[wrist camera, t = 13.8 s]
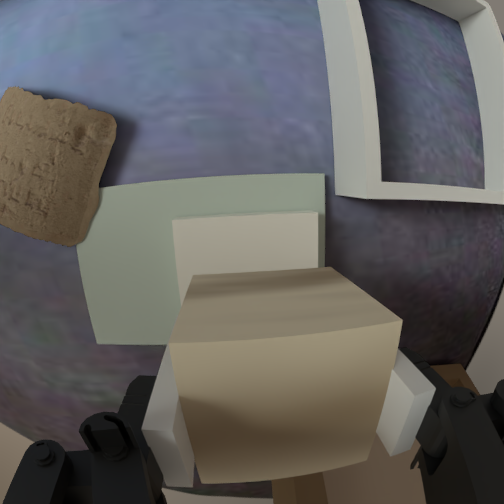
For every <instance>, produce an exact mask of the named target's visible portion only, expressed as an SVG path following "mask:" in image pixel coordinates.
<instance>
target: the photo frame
mask: <svg viewBox="0 0 504 504" xmlns="http://www.w3.org/2000/svg"><path fill="white" fill-rule="evenodd" d="M430 367H431V368H433V369H434V370H435V371H436V372H437V373H438V374H439V375H440V376H441V377H442V378H443V379H444V380H445V381H446V382H447V383H448V384H449V385H450V386H451V387H452V388H453V387H465V388H469V389H470V390H472V391H474V392H475V393H476V394H477V395H480V394H479V392H478V391H477V389H476V387H475V386H474V384H473V382H472V381H471V379H470V378H469V376H468V375H467V373H466V371H465V370H464V368H463V367H462V365H461V364H448V365H435V366H430ZM420 446H421V445H420V444H419V442H418V441H417V439H416V438H415V440H414V442H413V445H412V447H411V449H410V450H408V451H405V452H402V453H400V454H397V455H394V456H391V457H390V455H389V454H388V452H387V450H386V448H385V447H384V445H383V443H382V441H381V440H380V438H379V436H378V434H377V433H376V435H375V438H374V441H373V444H372V447H371V450H370V453H369V455H368V458H367V460H366V461H363V462H359V463H356V464H352V465H348V466H344V467H340V468H336V469H331V470H327V471H322V472H317V473H312V474H307V475H301V476H295V477H288V478H281V479H273V480H272V491H273V502H274V504H426V500H425V494H424V488H423V482H422V477H421V472H420V468H417V467H418V465H419V462H417V463H416V465H415V467H414V469H411V470H410V465H411V463H412V461H413V459H414V457H415V455H416V453H417V452H418V450H419V448H420Z"/></svg>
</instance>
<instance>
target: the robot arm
mask: <svg viewBox="0 0 504 504" xmlns="http://www.w3.org/2000/svg"><path fill="white" fill-rule="evenodd" d="M177 317H178V315H177ZM177 317H176V320H177ZM176 320H175V323H176ZM175 323H174V326H175ZM174 326H173V328H174ZM172 331H173V329H172ZM171 334H172V332H171ZM170 337H171V335H170ZM169 340H170V338H169ZM168 343H169V341H168ZM79 433H80V435H81V436H82V438H83V440H84V442H85V443H86V445H87V447H88V448H89V450H83V451H68V452H65V450H64V449H63V447H62V446H61V445H60V444H59V443H57V442H55V441H52V440H40V441H37V442H35V443H33V444H32V445H30V446H29V448H28V449H27V450H26V452H25V454H24V456H23V458H22V460H21V462H20V464H19V466H18V469H17V471H16V473H15V475H14V478H13V480H12V482H11V484H10V487H9V489H8V492H7V494H6V496H5V499H4V501H3V504H167V502H166V499H165V496H164V494H163V492H162V490H161V489H162V482H163V479H164V481H165V483H166V485H167V486H175V487H193V473H194V458H195V457H194V454H193V450H192V446H191V443H190V439H189V436H188V432H187V428H186V424H185V420H184V416H183V412H182V408H181V404H180V400H179V395H178V391H177V386H176V381H175V376H174V371H173V366H172V361H171V355H170V350H169V344H167V347H166V350H165V353H164V356H163V359H162V362H161V365H160V369H159V372H158V375H157V376H138V377H137V378H136V379H135V380H133V381H132V382H131V383H130V384H129V387H128V389H127V392H126V396H124V399H123V401H122V404H121V406H120V409H119V411H118V414H117V413H114V412H102V413H97V414H94V415H92V416H90V417H88V418H87V419H86V420H85V421H84V422H83V423H82V424H81V426H80V429H79ZM376 433H377V434H378V436H379V438H380V440H381V441H382V443H383V445H384V447H385V448H386V450H387V452H388V454H389V455H390V457H391V456H394V455H397V454H400V453H402V452H405V451H408V450H410V449H411V447H412V445H413V442H414V440H415V438H416V439H417V441H418V442H419V444H420V445H421V446H420V448H419V450H418V452H417V453H416V455H415V457H414V459H413V461H412V463H411V465H410V470H411V469H414V467H415V465H416V463H417V462H419V465H418V467H417V468H420V472H421V477H422V482H423V488H424V494H425V500H426V504H504V379H503V380H501V381H499V382H498V384H497V386H496V388H495V390H494V393H490V394H484V395H477V394H476V393H475V392H474V391H472V390H470V389H469V388H465V387H453V388H452V387H451V386H450V385H449V384H448V383H447V382H446V381H445V380H444V379H443V378H442V377H441V376H440V375H439V374H438V373H437V372H436V371H435V370H434V369H433V368H431V367H430V365H429V364H428V363H427V362H424V359H423V358H422V357H421V356H420V355H419V354H417V353H416V352H414V351H412V350H410V349H408V348H406V347H405V348H401V349H398V350H397V355H396V360H395V364H394V369H392V372H391V377H390V381H389V385H388V389H387V394H386V397H385V401H384V405H383V409H382V413H381V416H380V420H379V423H378V426H377V430H376Z"/></svg>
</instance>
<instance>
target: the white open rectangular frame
mask: <svg viewBox="0 0 504 504" xmlns="http://www.w3.org/2000/svg"><path fill="white" fill-rule="evenodd" d="M411 1H413V2H416V3H418V4H421V5H423V6H426V7H428V8H430V9H433V10H435V11H437V12H440V13H442V14H444V15H446V16H448V17H450V18H452V19H454V20H456V21H458V22H459V24H460V27H461V30H462V34H463V37H464V40H465V44H466V47H467V51H468V55H469V59H470V63H471V67H472V71H473V76H474V81H475V86H476V91H477V97H478V103H479V110H480V117H481V126H482V136H483V148H484V168H485V190H484V189H475V188H465V187H455V186H444V185H431V184H416V183H399V182H381V155H380V137H379V124H378V112H377V102H376V94H375V85H374V78H373V71H372V64H371V58H370V52H369V47H368V41H367V36H366V31H365V26H364V22H363V17H362V13H361V8H360V4H359V0H317V2H318V8H319V13H320V20H321V26H322V33H323V39H324V47H325V54H326V63H327V71H328V81H329V91H330V102H331V114H332V129H333V146H334V169H335V195H341V196H349V197H356V198H363V199H406V200H438V201H459V202H477V203H491V204H504V42H503V39H502V36H501V33H500V30H499V27H498V25H497V22H496V19H495V17H494V14H493V12H492V9H491V7H490V5H489V4H488V3H487V2H485V1H484V0H411Z"/></svg>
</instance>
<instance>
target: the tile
mask: <svg viewBox="0 0 504 504" xmlns="http://www.w3.org/2000/svg"><path fill="white" fill-rule="evenodd" d="M172 228H173V239H174V250H175V260H176V269H177V278H178V286H179V294H180V302H181V306H182V303H183V301H184V298H185V295H186V292H187V290H188V287H189V284H190V282H191V279H192V276H193V275H203V274H222V273H241V272H258V271H275V270H291V269H306V268H318V212H315V211H312V210H304V211H277V212H254V213H235V214H218V215H202V216H188V217H176V218H174V219H173V220H172Z"/></svg>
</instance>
